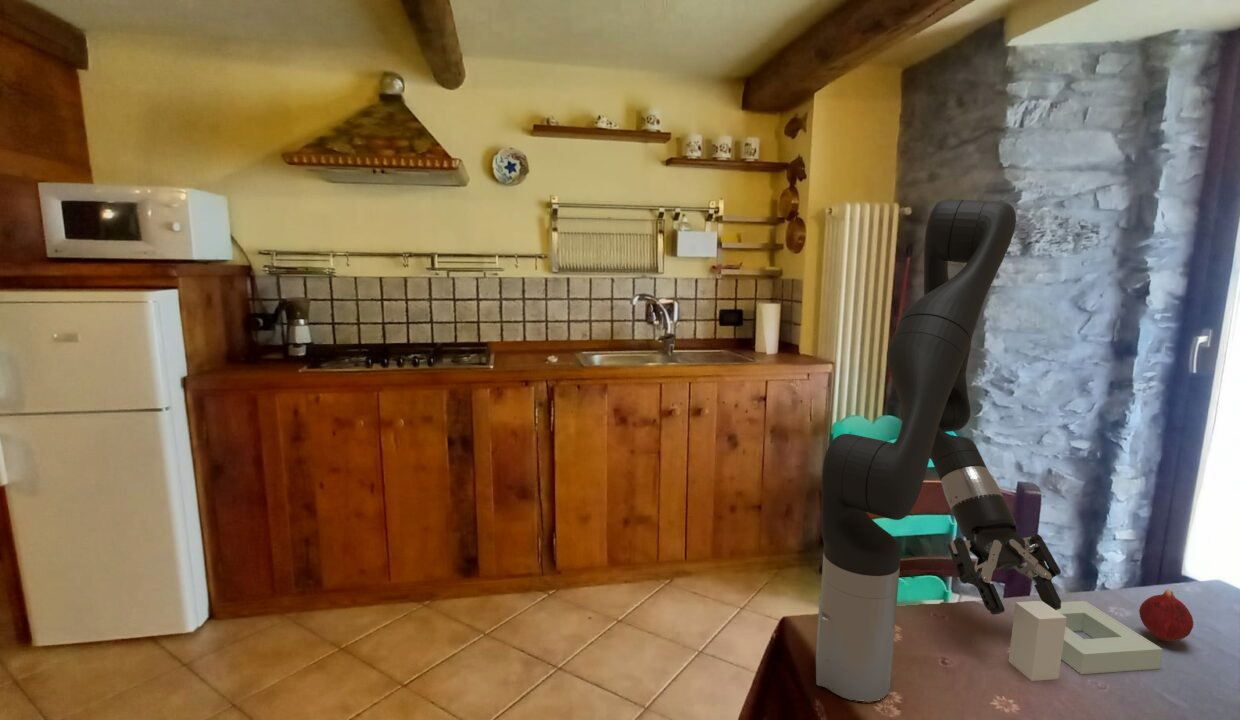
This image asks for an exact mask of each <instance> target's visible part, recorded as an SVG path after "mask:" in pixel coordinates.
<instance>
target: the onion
mask: <svg viewBox="0 0 1240 720" xmlns="http://www.w3.org/2000/svg"><path fill="white" fill-rule="evenodd" d="M1138 612H1139V617H1140V620H1141V622H1142V624H1143V626H1144V627H1145V628H1146V629H1147V630H1148V631H1149V632H1150V633H1151V634H1152V635H1153V636H1154V637H1156V639H1158V640H1159V641H1161V642H1173V641H1179V640H1182V639H1185V638H1187V637H1188V636H1190V634H1191V632H1192V630H1193V628H1194V619H1193V616H1192V614H1191V612H1190V610H1189V609H1188V608H1187V606H1186V605H1185V604H1184V603H1183V602H1182V601H1181V600H1179V599H1178V598H1176V596H1175V595H1174V592H1173V591H1172V589H1169V588H1167V589H1165V590H1164V592H1163V593H1162V594H1157V595H1152V596H1150V597H1148V598H1147V599H1145V600H1144V601H1143V602H1142V603H1141V605H1140V606H1139V610H1138Z"/></svg>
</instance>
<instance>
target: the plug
mask: <svg viewBox="0 0 1240 720" xmlns="http://www.w3.org/2000/svg"><path fill="white" fill-rule="evenodd" d="M1014 609H1015V611H1013V618H1014V619H1013V620H1012V629H1011V639H1010V645H1009V646H1010V647H1009V656H1008V663H1010V665H1012V666H1013V667H1014V668H1016V669H1017V670H1018V671H1019V672H1020V673H1021V674H1023V675H1024V676H1025V677H1026V678H1027V679H1028V680H1030V681H1031V682H1038V681H1050V680H1051V681H1052V680H1054V681H1055V680H1059V679H1060V671H1061V665H1062V664H1061V663H1062V659H1061V657H1062V650H1063V642H1064V634H1065V627H1066V619H1067V617H1065V616H1064V615H1062V614H1061V613H1059V612H1058V611H1056V610H1055V609H1053V608H1052V607H1050V606H1049V605H1047V604H1046V603H1044V602H1043V601H1042V600H1036V601H1035V600H1031V601H1018V602H1017V601H1016V602H1015V604H1014Z"/></svg>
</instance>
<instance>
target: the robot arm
mask: <svg viewBox="0 0 1240 720" xmlns="http://www.w3.org/2000/svg"><path fill="white" fill-rule="evenodd" d="M1016 224H1017V213H1016V210H1015V208H1014V207H1013V206H1012V205H1011V204H1010V203H1008V202H1004V201H1003V202H1002V201H999V200H978V199H977V200H976V199H975V200H974V199H972V200H971V199H965V200H964V199H943V200H940V201H939V202H937V203H936V205H934V207H933V208H932V210H931V212H930V214H929V216H928V220H927V224H926V228H925V233H924V234H925V235H924V243H923V244H924V245H923V253H924V254H923V296H922V297H920V298H919V299H917V300H916V301H915V302H913V303H912V304H911V305H910V306H909V307H908V308H907V309H906V310H905V311H904V313H903V314H902V315H901V316H900V317H901V318H900V320H899V322H898V323H897V327H896V329H895V331H894V333H893V336H892V338H891V341H890V342H889V344H888V345H889V346H888V349H887V352H886V353H887V354H886V360H887V361H886V362H887V363H886V364H887V367H888V370H889V373H890V377H891V380H892V382H893V385H894V388H895V390H896V391H895V392H896V395H897V396H898V399H899V403H900V417H901V420H902V421H901V424H900V425H901V426H900V427H901V428H900V429H899V430H900V431H899V433H898V436H897V438H896V439H895V441H894V442H891V441H886V440H881V439H877V438H872V437H867V436H863V435H859V434H852V433H842V434H839V435H837V436H836V437H834V438H833V439H832V440H831V442H830V444H829V445H828V447H827V448H826V449H827V450H826V452H825V455H824V459H823V464H822V471H821V524H820V525H821V527H820V528H821V536H822V541H823V554H822V569H821V570H822V571H821V584H820V586H821V587H820V596H819V602H818V617H817V618H818V619H817V630H816V634H817V635H816V649H815V679H816V680H815V682H816V683H815V684H816V685H817V686H818V687H822V688H826V689H827V690H829V691H831V692H832V693H833V694H835V695H837V696H839V697H841V698H843V699H847V700H850V701H852V700H864V701H874V700H878V699H881V698H883V697H885V696H886V695H887V694H889V693H890V689H891V681H892V667H893V666H892V665H893V654H894V642H895V639H894V638H895V629H896V619H897V618H896V615H897V604H898V593H899V583H900V582H899V580H900V568H901V559H902V552H901V546H900V544H899V542H898V541H897V539H896V538H895V537H894V536H893V535H892V534H891V533H889V532H888V531H887V530H885V529H884V528H883V527H882V526H880V525H879V524H877V522H876V521H874V519H872V518H871V517H870V515H869V514H872V515H875V516H878V517H881V518H885V519H889V520H893V521H900V520H903V519H905V518H906V517H908V516H909V514H910V513H911V512H912V510H913V509H914V507H915V505H916V503H917V501H918V499H919V497H920V493H921V491H922V488H923V484H924V480H925V477H926V474H927V470H928V467H929V463H930V460H931V462H932V464H933V467H934V469H935V471H936V473H937V476H938V478H939V480H940V483H941V485H942V486H941V487H942V490H943V494H944V496H945V499H946V501H947V503H948V506H949V508H950V510H951V513H952V515H953V517H954V519H955V520H954V521H955V522H956V524H957V526H958V529H959V531H960V534H961V536H962V537H964V538H965V540H964V538H962V537H960V536H959V537H957V538H955V539H953V540H952V541H951V542H949V543H948V544H947V548H948V551H949V553H950V557H951V559H952V562H953V565H954V567H955V570H956V573H957V576H958V579H959V581H960V582H961V583H962V584H964V585H965V584H969V585H970V584H971V585H973V586H974V587H976V589H977V591H978V593H979V596H980V598H981V601H982V602H983V605H984V608H986V609H987V611H989V613H990V614H991V615H1000V614H1002V613H1004V612H1005V607H1004V604H1003V602H1002V600H1001V597H1000V595H999V593H998V591H997V588H996V586H995V584H994V583H991V582H992V577H993V573H994V571H997V570H1001V569H1004V570H1013V569H1014V570H1016V571H1017V572H1018V574H1022V575H1024V576H1025V577H1027V578H1029V579H1030V580H1031V581H1032V583H1034V588H1035V590H1036V592H1037V594H1038V596H1039V597H1040V601H1043V602H1044V603H1046V604H1047V605H1049V606H1050V607H1052V608H1053V609H1055V610H1058V609H1060V608H1061V605H1060V604H1061V602H1062V599H1061V597H1060V596H1059V593H1058V592H1057V590H1056V588H1055V586H1054V585H1053V582H1052V581H1053V580H1052V579H1053V578H1055V577H1056V576H1058V575H1061V573H1062V572H1061V571H1062V570H1061V569H1060V567H1059V565H1058V563H1057V562H1056V560H1055V558H1054V556H1053V555H1052V553H1051V551H1050V550H1049V548H1048V546H1047V544H1046V542H1045V541H1044V539H1043V537H1042V535H1040V534H1038V533H1035V534H1033V535H1031V536H1028V537H1022V536H1021V535H1020V534H1019V533H1018V531H1017V528H1016V527H1017V525H1016V520H1015V517H1014V516H1013V514H1012V511H1011V510H1010V508H1009V505H1008V504H1007V501H1006V500H1005V497H1004V495H1003V493H1002V491H1001V489H1000V488H999V485H998V484H997V482H996V480H995V478H994V477H993V475H992V474H991V472H990V470H989V469H988V468H987V465H986V464H985V461H984V459H983V457H982V455H981V453H980V450H979V449H978V447H977V445H976V444H975V442H974V441H973V440H971V439H970V438H969V437H964V436H959V435H952V434H949V433H950V432H957V431H960V430H962V429H963V428H964V427H966V426H967V424H968V422H969V420H970V418H971V404H970V399H969V394H968V393H969V392H968V385H967V384H968V383H967V375H966V374H967V368H968V362H969V358H970V353H971V349H972V348H971V346H972V339H973V335H974V333H975V329H976V326H977V323H978V320H979V317H980V314H981V310H982V308H983V306H984V303H985V299H986V297H987V295H988V292H989V290H990V288H991V286H992V284H993V281H994V279H995V277H996V275H997V274H998V271H999V268H1000V267H1001V265H1002V263H1003V260H1004V259H1005V257H1006V254H1007V252H1008V249H1009V247H1010V245H1011V243H1012V239H1013V236H1014V233H1015V228H1016ZM950 262H952V263H963V264H965V265H964V266H963V268H962V269H961V270H960V271H959V272H957V274H955V275H954V276H953V277H951V278H950V279H949V272H948V271H949V268H948V265H949V264H948V263H950ZM948 432H949V433H948ZM868 513H869V514H868ZM970 553H971V554H973V556H975V557H976V560H975V563H973V561H972V558H971V555H970ZM1023 561H1024V562H1023ZM888 692H889V693H888ZM887 696H888V695H887ZM887 696H886V697H887ZM886 697H885V698H886ZM883 699H884V698H883ZM881 700H882V699H881Z"/></svg>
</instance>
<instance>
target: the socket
mask: <svg viewBox="0 0 1240 720" xmlns="http://www.w3.org/2000/svg"><path fill="white" fill-rule="evenodd" d="M1060 605H1061V608H1060V609H1058V610H1056V611H1058V612H1059V613H1061V614H1062V615H1064V616H1065V617H1067V619H1066V627H1065V634H1064V642H1063V650H1062V657H1061V661H1063V662H1064V663H1066V664H1067V665H1069V667H1071V668H1072V669H1074V670H1075V671H1076V672H1077V673H1079V674H1080V675H1088V674H1089V675H1091V674H1102V673H1103V674H1104V673H1119V672H1132V671H1133V672H1135V671H1147V670H1148V671H1149V670H1160V668H1161V662H1162V656H1163V650H1164V649H1163V648H1162V647H1160V646H1159V645H1157V644H1155V643H1154V642H1152V641H1150V640H1149V639H1147V638H1146V637H1144V636H1143V635H1141V634H1139V633H1138V632H1136V631H1134V630H1133V629H1131V628H1129V627H1127V626H1126V625H1124V624H1123V623H1121V622H1119V621H1118V620H1116V619H1115V618H1114V617H1112V616H1110V615H1108V614H1107V613H1105V612H1103V611H1102V610H1100V609H1098V608H1097V607H1096V606H1094V605H1092V604H1090V603H1089V602H1087V601H1086V600H1076V601H1061V604H1060ZM1014 611H1015V608H1014ZM1014 611H1013V612H1014ZM1013 619H1014V617H1013ZM1076 632H1083V633H1084V634H1086V635H1087V636H1089V637H1091V638H1083V637H1081V636H1080V635H1079V634H1077V633H1076Z"/></svg>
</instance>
